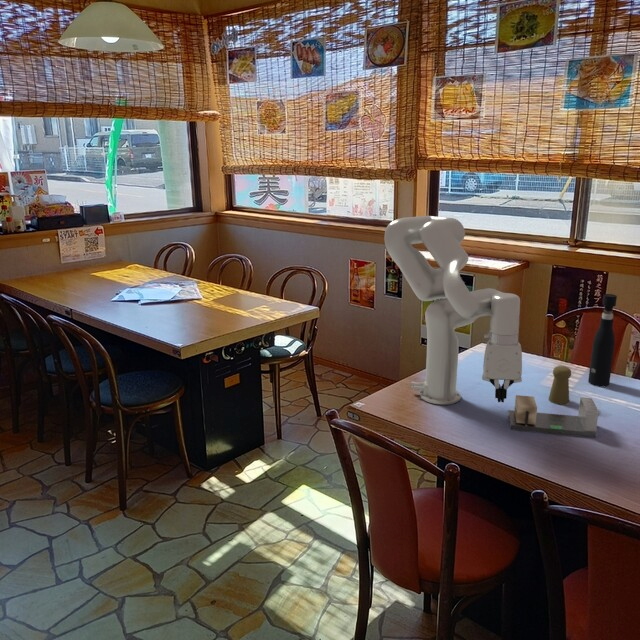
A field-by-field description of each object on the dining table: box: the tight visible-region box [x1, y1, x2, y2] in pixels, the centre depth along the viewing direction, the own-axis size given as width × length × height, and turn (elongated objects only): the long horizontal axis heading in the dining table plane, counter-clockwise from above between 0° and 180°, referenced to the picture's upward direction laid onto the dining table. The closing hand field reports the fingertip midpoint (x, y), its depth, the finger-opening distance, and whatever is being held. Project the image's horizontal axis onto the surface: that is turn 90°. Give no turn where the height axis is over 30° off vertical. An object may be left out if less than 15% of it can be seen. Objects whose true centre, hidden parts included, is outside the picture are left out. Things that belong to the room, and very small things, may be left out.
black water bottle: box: [587, 293, 618, 388], centre depth 196 cm, size 6×6×30 cm
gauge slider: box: [513, 394, 538, 425], centre depth 170 cm, size 5×9×5 cm, turn 167°
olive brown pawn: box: [548, 365, 572, 406], centre depth 185 cm, size 6×6×11 cm
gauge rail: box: [507, 397, 599, 438], centre depth 169 cm, size 22×10×8 cm, turn 77°
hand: (500, 400), depth 170 cm, fingers closed
